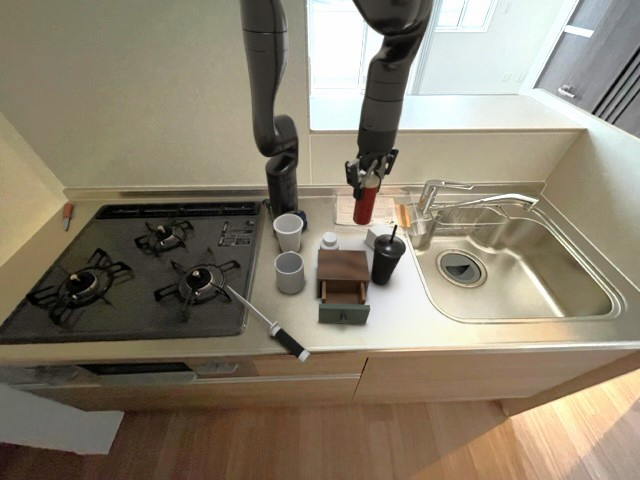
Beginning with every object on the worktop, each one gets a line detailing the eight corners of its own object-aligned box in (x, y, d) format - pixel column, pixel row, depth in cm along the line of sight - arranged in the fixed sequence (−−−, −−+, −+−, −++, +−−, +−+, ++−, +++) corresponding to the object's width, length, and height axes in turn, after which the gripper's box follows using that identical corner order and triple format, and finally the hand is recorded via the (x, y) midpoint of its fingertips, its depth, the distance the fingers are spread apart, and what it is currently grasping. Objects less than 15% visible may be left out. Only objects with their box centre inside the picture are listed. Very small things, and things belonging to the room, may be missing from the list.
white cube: (365, 242, 82) (368, 228, 78) (378, 235, 84) (382, 221, 80) (378, 253, 78) (382, 240, 74) (392, 246, 81) (396, 232, 76)
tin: (350, 223, 65) (356, 182, 56) (354, 211, 68) (360, 171, 60) (369, 227, 64) (378, 186, 55) (372, 215, 67) (381, 175, 59)
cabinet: (364, 299, 67) (370, 280, 61) (316, 298, 67) (317, 278, 61) (361, 270, 74) (365, 250, 67) (317, 269, 74) (318, 249, 67)
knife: (308, 357, 58) (311, 349, 54) (301, 366, 56) (304, 359, 52) (232, 288, 66) (230, 277, 62) (224, 294, 64) (221, 284, 61)
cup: (276, 294, 67) (272, 273, 61) (280, 264, 74) (277, 243, 68) (303, 295, 67) (302, 274, 61) (305, 265, 74) (304, 244, 68)
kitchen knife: (73, 204, 92) (66, 206, 91) (70, 201, 91) (63, 203, 90) (71, 230, 82) (63, 232, 82) (68, 226, 81) (60, 229, 81)
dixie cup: (307, 240, 81) (306, 216, 74) (298, 260, 76) (297, 236, 68) (282, 235, 83) (279, 211, 76) (272, 254, 77) (268, 229, 70)
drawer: (366, 328, 60) (371, 314, 55) (318, 327, 60) (318, 313, 55) (362, 293, 67) (366, 278, 62) (319, 292, 67) (319, 276, 62)
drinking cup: (387, 266, 75) (405, 213, 61) (397, 287, 70) (419, 235, 55) (362, 269, 74) (374, 216, 60) (370, 291, 69) (386, 239, 54)
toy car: (271, 221, 78) (281, 233, 76) (303, 207, 84) (313, 217, 81) (272, 234, 83) (281, 245, 80) (302, 219, 88) (312, 229, 86)
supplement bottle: (336, 268, 74) (338, 245, 67) (317, 265, 75) (318, 242, 68) (338, 254, 78) (341, 231, 71) (321, 251, 78) (322, 228, 71)
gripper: (390, 108, 54) (376, 179, 66) (337, 123, 48) (332, 197, 60) (419, 120, 50) (398, 193, 62) (365, 137, 43) (353, 215, 56)
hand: (365, 195), depth 61 cm, fingers closed on tin, 4 cm apart
